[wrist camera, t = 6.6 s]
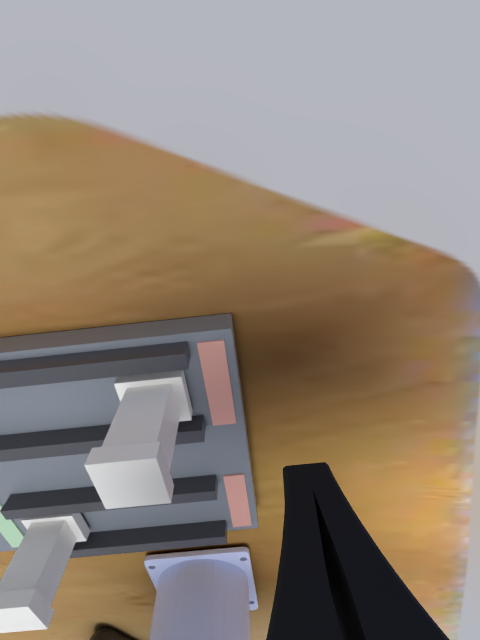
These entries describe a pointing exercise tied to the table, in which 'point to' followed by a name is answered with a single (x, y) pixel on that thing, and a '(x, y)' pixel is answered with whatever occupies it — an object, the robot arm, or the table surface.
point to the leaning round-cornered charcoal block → (108, 635)
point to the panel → (95, 420)
